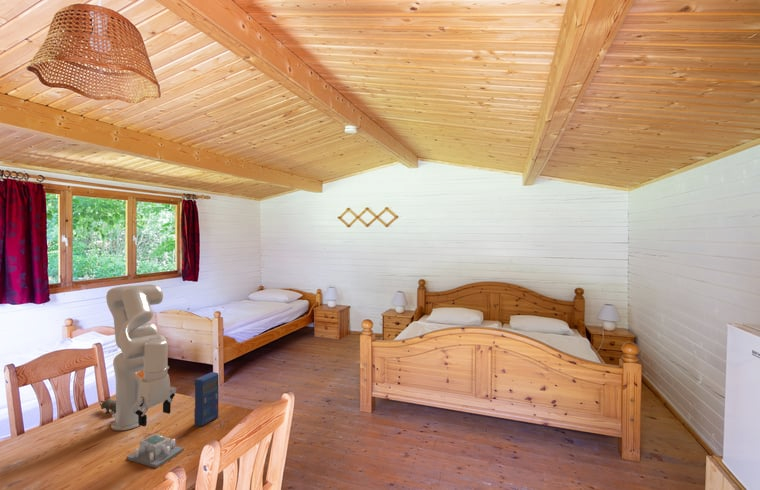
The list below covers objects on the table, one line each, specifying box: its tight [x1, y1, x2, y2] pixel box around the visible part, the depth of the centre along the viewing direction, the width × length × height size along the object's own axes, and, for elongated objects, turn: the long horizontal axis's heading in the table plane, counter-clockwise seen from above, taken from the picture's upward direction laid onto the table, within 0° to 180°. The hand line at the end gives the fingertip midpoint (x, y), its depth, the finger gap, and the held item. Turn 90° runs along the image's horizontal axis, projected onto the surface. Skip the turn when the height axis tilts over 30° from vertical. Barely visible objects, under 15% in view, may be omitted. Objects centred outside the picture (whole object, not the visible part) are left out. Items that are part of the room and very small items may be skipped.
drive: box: [139, 433, 172, 460], centre depth 131 cm, size 9×6×5 cm, turn 65°
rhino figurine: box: [99, 398, 116, 415], centre depth 164 cm, size 4×14×6 cm, turn 69°
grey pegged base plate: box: [126, 438, 185, 469], centre depth 131 cm, size 15×11×4 cm
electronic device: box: [193, 371, 220, 427], centre depth 156 cm, size 10×5×20 cm, turn 159°
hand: (155, 418), depth 132 cm, fingers open, 9 cm apart
